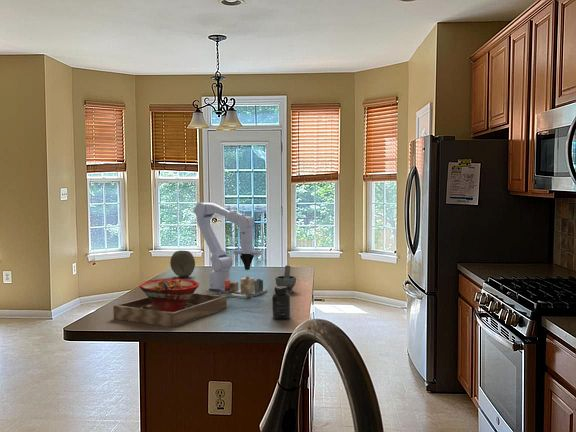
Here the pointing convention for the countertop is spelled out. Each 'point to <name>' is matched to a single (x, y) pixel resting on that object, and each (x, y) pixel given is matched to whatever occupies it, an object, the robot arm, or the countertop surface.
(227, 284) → the lever
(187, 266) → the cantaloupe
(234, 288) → the block
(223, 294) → the rail
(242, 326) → the countertop surface
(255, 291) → the press
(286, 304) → the supplement bottle
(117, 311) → the wooden tray
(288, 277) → the mortar and pestle
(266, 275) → the countertop surface
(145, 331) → the countertop surface
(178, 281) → the stew
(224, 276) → the robot arm
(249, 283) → the block
